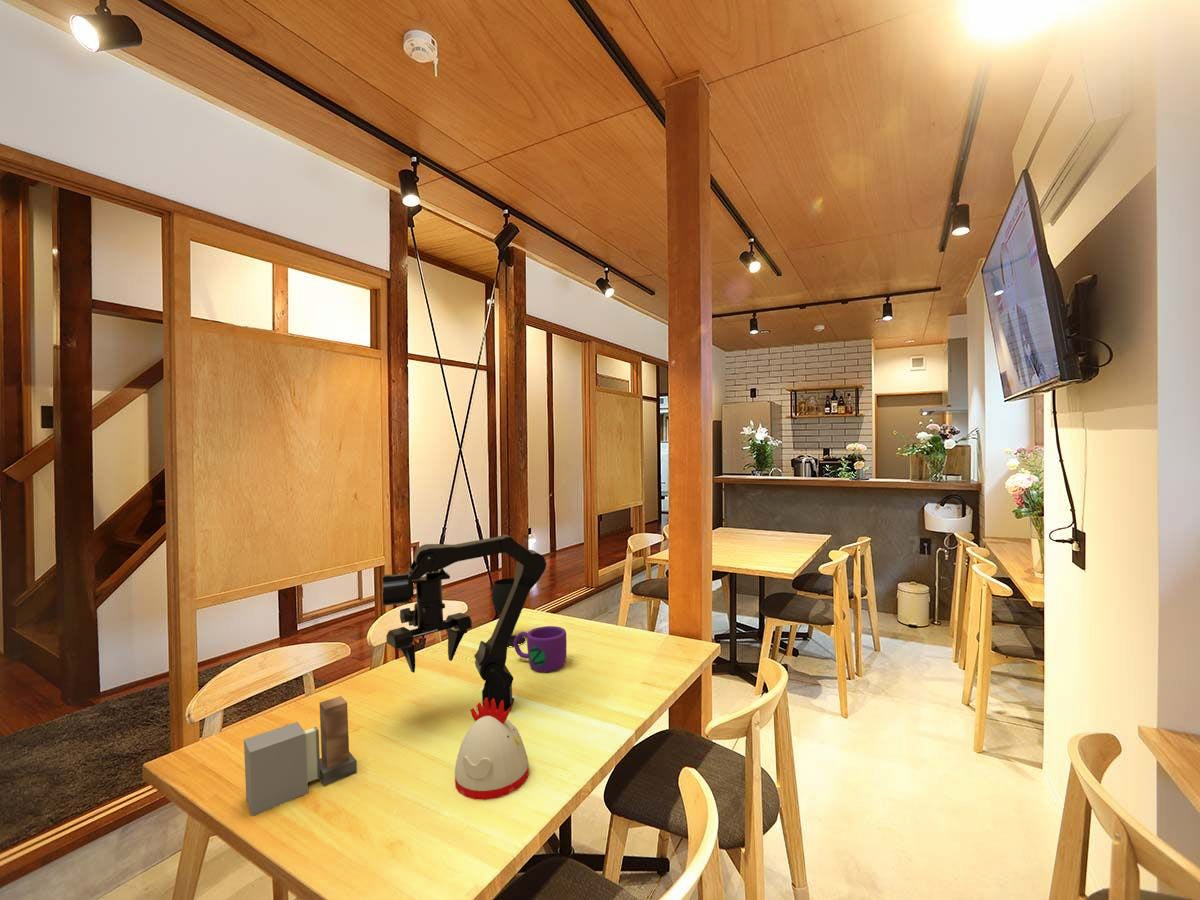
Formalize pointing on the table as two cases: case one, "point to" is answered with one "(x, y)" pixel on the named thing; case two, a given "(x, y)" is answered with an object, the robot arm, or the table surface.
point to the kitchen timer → (490, 755)
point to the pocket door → (312, 754)
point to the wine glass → (503, 600)
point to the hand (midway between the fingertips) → (432, 666)
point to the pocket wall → (275, 767)
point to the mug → (544, 648)
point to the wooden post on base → (335, 742)
